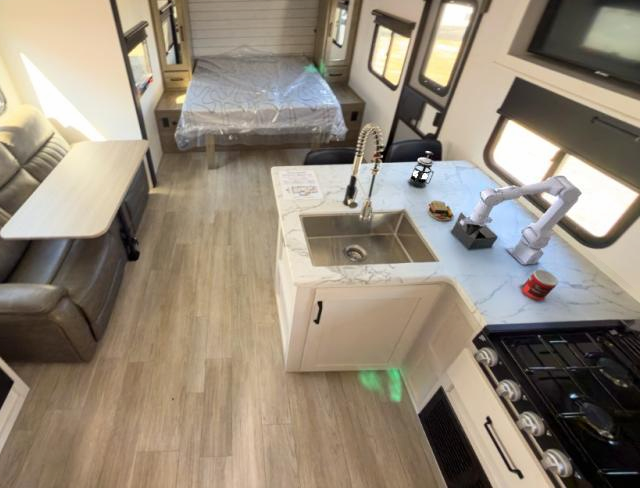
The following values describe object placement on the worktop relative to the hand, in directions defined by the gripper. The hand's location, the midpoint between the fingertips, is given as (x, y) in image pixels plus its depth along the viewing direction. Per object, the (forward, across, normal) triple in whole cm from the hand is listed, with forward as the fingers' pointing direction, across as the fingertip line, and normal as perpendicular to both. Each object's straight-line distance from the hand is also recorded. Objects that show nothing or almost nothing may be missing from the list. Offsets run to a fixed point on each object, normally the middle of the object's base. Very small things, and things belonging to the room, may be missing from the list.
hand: (468, 233), depth 153 cm
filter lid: (0, +3, +5) cm, 6 cm away
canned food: (+10, +12, -28) cm, 33 cm away
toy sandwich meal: (+10, +6, +26) cm, 28 cm away
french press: (+10, +11, +54) cm, 56 cm away
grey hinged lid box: (+10, +10, +5) cm, 15 cm away
